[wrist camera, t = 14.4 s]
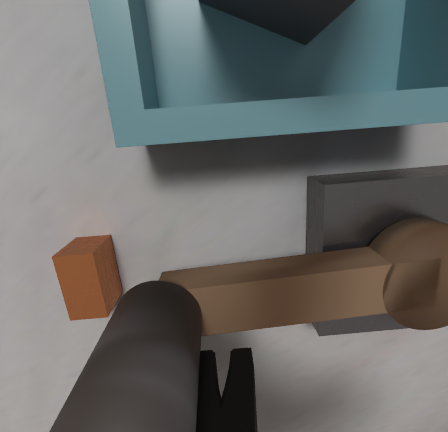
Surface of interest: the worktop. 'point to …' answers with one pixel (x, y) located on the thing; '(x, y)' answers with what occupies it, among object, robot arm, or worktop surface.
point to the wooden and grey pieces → (315, 236)
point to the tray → (268, 71)
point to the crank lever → (246, 320)
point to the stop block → (285, 15)
